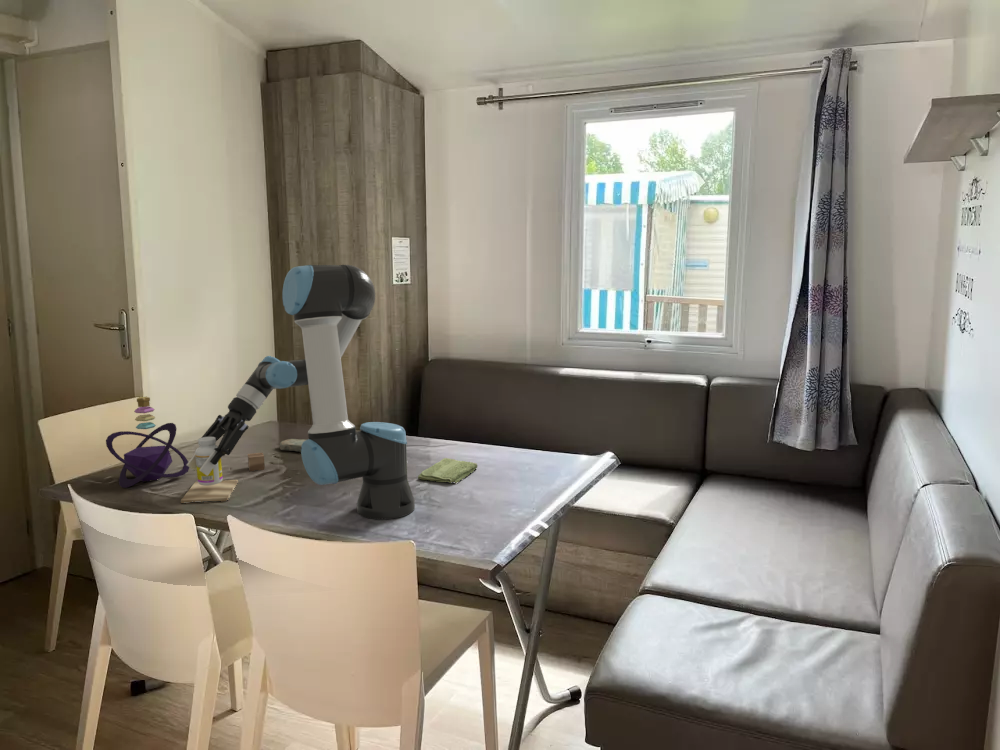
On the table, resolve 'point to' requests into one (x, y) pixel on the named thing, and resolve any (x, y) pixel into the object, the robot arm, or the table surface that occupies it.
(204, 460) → the supplement bottle
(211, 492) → the pad
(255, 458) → the walnut block
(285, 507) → the table surface
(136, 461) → the decorative bottle
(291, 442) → the long grey stone
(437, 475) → the washcloth
